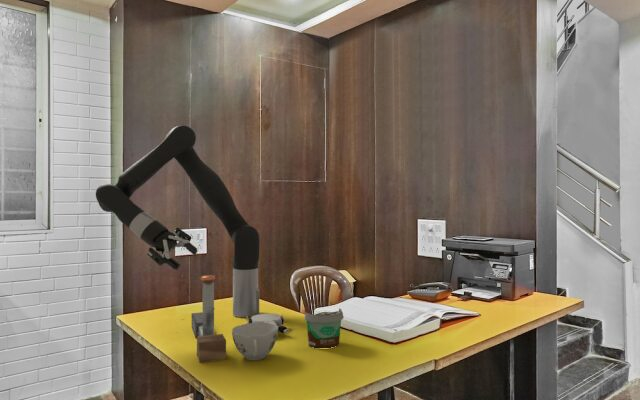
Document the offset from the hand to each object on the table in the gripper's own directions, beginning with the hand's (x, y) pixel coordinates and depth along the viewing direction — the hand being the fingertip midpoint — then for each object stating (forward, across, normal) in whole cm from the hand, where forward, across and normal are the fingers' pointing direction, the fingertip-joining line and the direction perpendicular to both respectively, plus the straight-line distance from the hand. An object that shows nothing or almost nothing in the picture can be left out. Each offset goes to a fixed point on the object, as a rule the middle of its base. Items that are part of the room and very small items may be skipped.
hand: (187, 260), depth 145 cm
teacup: (+35, -17, -7) cm, 40 cm away
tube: (+21, -14, +6) cm, 26 cm away
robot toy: (+34, +2, +7) cm, 35 cm away
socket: (+26, -21, -1) cm, 33 cm away
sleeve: (+16, -6, +17) cm, 24 cm away
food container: (+50, -1, -10) cm, 51 cm away
